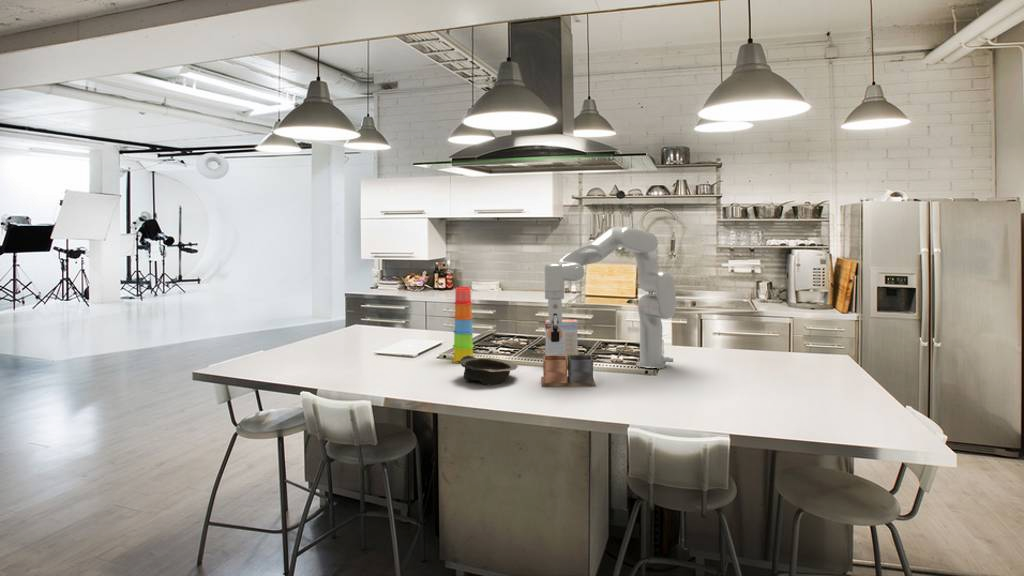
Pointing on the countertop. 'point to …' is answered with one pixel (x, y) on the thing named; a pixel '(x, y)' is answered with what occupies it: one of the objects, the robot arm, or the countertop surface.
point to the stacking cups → (463, 324)
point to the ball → (551, 331)
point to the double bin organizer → (577, 371)
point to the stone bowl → (486, 369)
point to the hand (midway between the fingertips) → (554, 339)
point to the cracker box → (563, 339)
